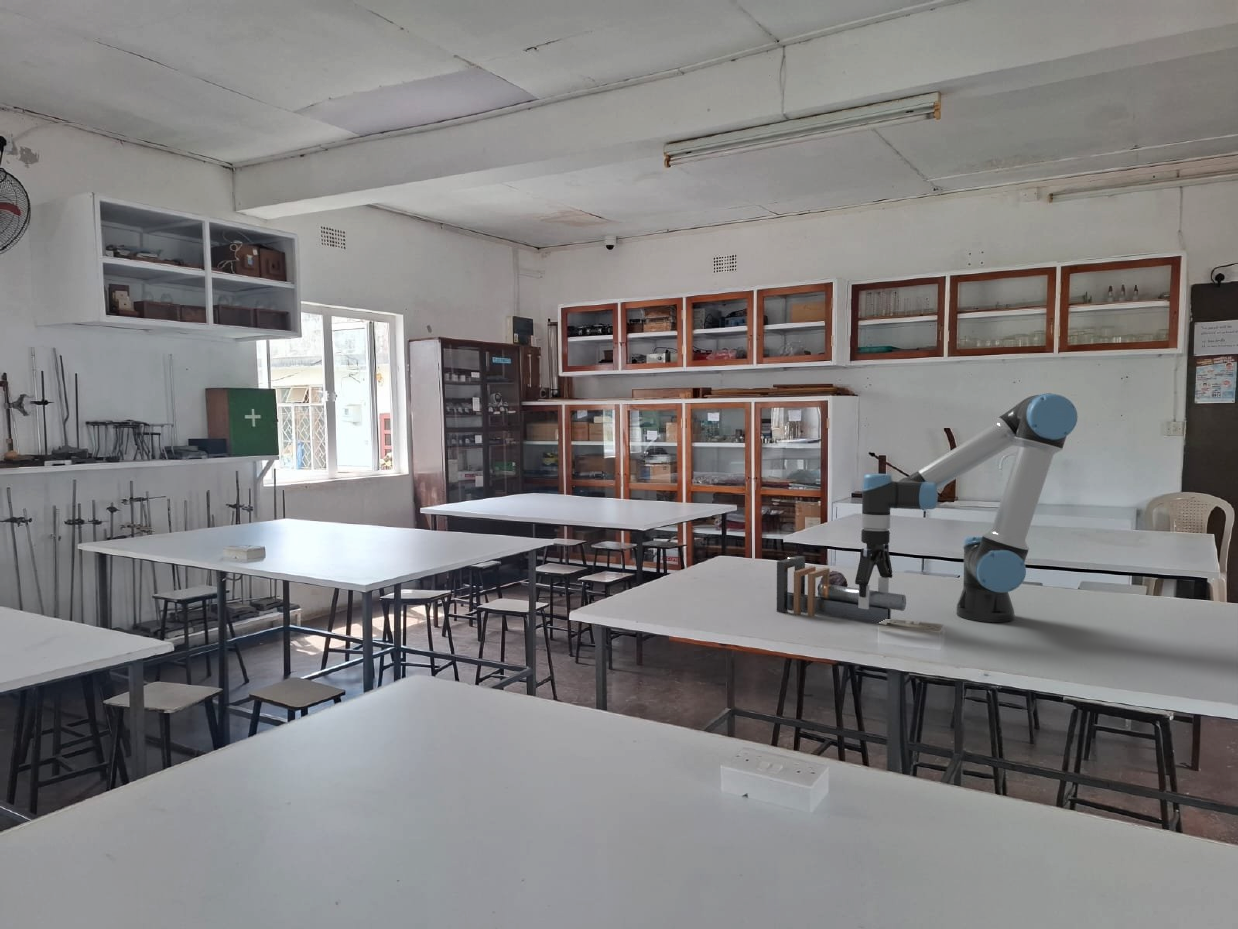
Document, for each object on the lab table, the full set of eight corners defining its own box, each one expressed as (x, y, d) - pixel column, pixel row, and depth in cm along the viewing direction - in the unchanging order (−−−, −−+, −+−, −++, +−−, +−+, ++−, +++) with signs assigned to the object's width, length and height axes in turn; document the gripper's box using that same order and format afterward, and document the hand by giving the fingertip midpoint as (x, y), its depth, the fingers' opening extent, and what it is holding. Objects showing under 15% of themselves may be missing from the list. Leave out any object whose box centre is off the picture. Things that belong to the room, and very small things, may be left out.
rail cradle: (890, 623, 221) (890, 607, 221) (886, 625, 219) (886, 609, 218) (787, 606, 241) (787, 592, 241) (782, 608, 239) (782, 593, 239)
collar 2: (829, 609, 237) (829, 568, 236) (812, 616, 229) (812, 573, 228) (824, 609, 238) (824, 567, 237) (807, 616, 230) (807, 573, 229)
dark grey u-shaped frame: (804, 605, 243) (805, 555, 242) (784, 613, 233) (784, 561, 232) (797, 604, 245) (797, 554, 244) (776, 611, 235) (776, 560, 234)
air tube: (906, 609, 219) (906, 593, 218) (900, 612, 215) (900, 596, 215) (825, 597, 234) (825, 582, 234) (818, 600, 231) (818, 585, 230)
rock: (813, 606, 247) (846, 608, 243) (811, 580, 246) (844, 582, 241) (820, 593, 258) (852, 595, 253) (818, 568, 256) (850, 569, 252)
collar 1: (815, 607, 240) (815, 566, 239) (798, 614, 231) (798, 572, 231) (810, 606, 241) (811, 566, 240) (793, 613, 232) (793, 571, 232)
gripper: (880, 523, 233) (878, 595, 234) (843, 532, 214) (841, 610, 215) (905, 526, 228) (903, 598, 229) (870, 535, 209) (868, 614, 210)
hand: (873, 604), depth 222 cm, fingers open, 13 cm apart
